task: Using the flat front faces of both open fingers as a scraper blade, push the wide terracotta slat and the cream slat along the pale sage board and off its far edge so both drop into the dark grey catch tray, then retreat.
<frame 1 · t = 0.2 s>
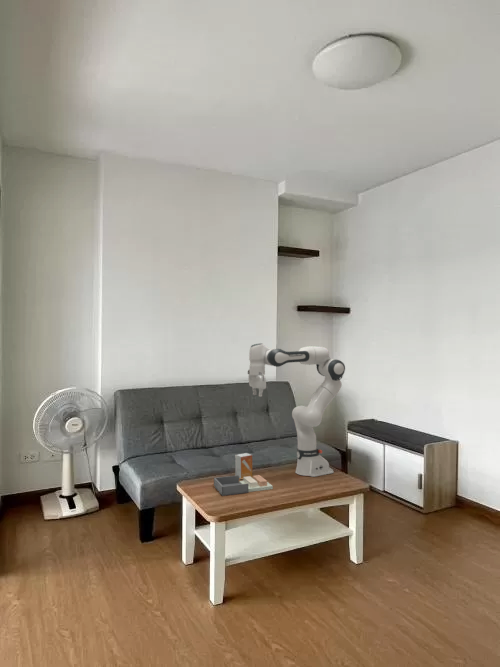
hand: (257, 395, 270), 47 cm above the table, fingers open, 8 cm apart
sage board: (255, 486, 254), on the table
cream tile: (250, 484, 253), point 2 cm above the table, touching sage board
small box: (244, 477, 271), on the table
catch tray: (230, 489, 249), on the table
terracotta tile: (259, 483, 254), point 2 cm above the table, touching sage board
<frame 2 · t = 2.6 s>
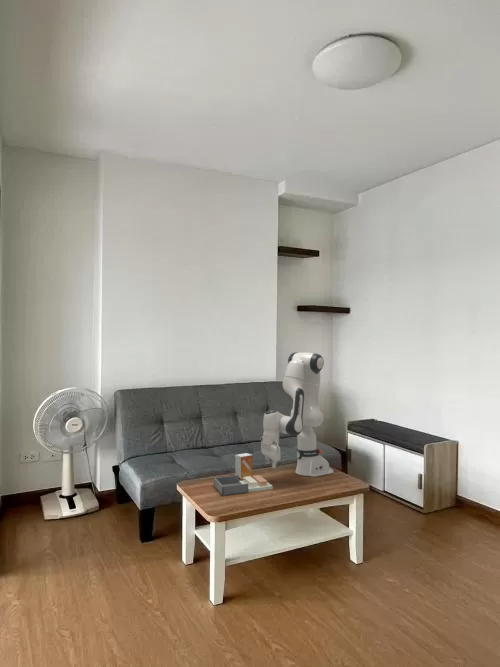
hand: (270, 465, 256), 10 cm above the table, fingers open, 8 cm apart
nothing on the table moved.
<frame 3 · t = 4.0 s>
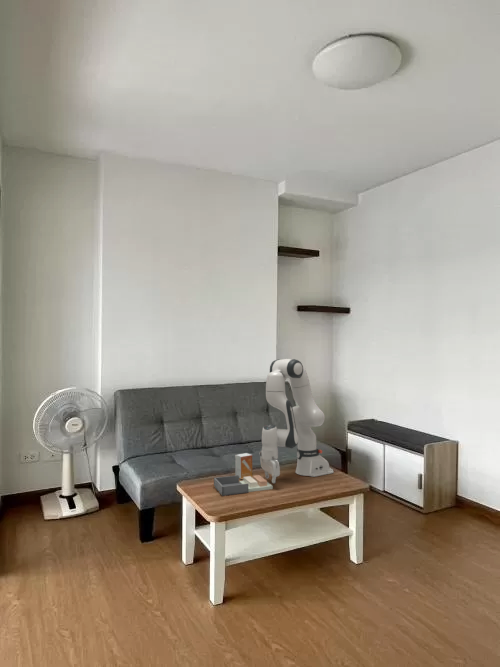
hand: (270, 480, 256), 2 cm above the table, fingers open, 8 cm apart
nothing on the table moved.
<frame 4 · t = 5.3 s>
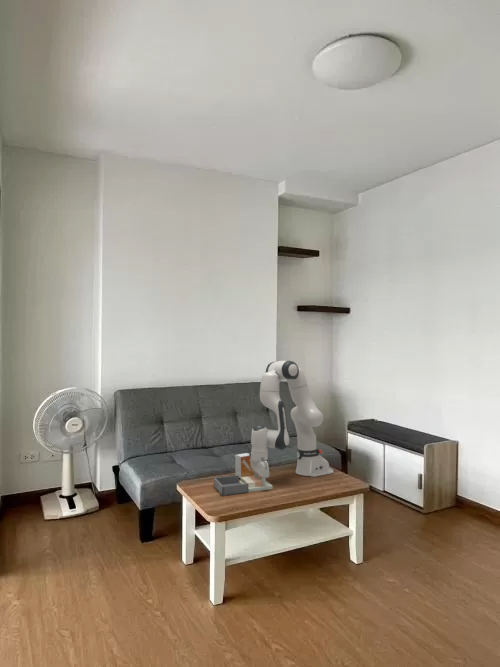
hand: (259, 481, 254), 2 cm above the table, fingers open, 8 cm apart
cream tile: (247, 484, 252), point 2 cm above the table, touching sage board, terracotta tile
terracotta tile: (254, 483, 253), point 2 cm above the table, touching cream tile, gripper, sage board
everything else where it was.
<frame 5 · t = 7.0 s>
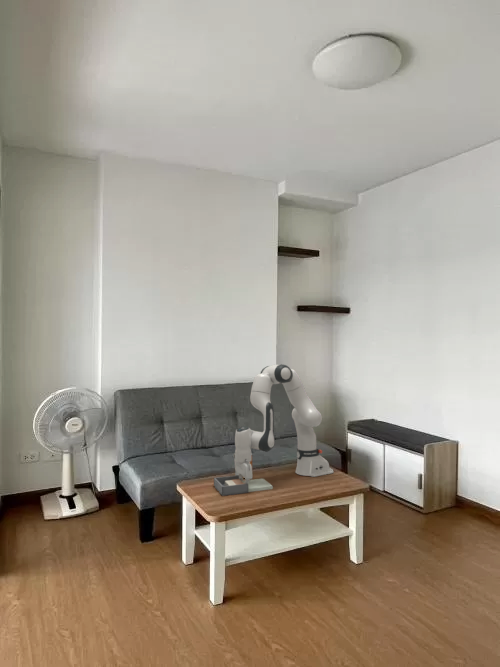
hand: (243, 483, 251), 2 cm above the table
cream tile: (231, 488, 249), point 1 cm above the table, touching catch tray, terracotta tile
terracotta tile: (238, 486, 251), point 1 cm above the table, touching cream tile, gripper
everything else where it was.
when the fingers open (2 cm above the table, at t = 8.6 s): terracotta tile stays where it is, resting on catch tray, cream tile.
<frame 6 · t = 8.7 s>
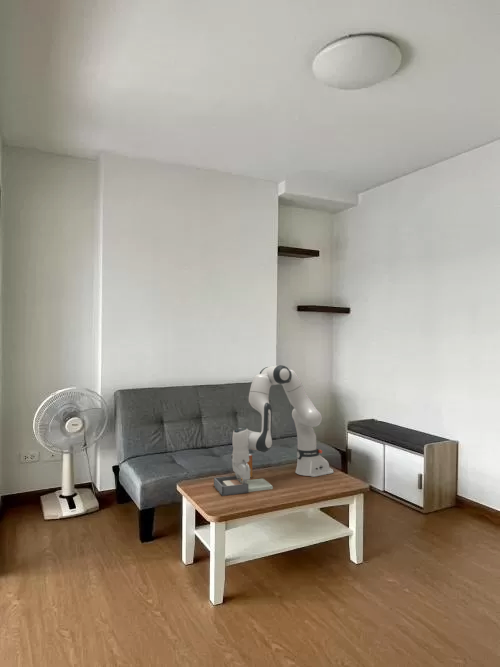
hand: (241, 484, 251), 2 cm above the table, fingers open, 8 cm apart
cream tile: (229, 488, 249), point 1 cm above the table, touching catch tray, terracotta tile
terracotta tile: (236, 487, 250), point 1 cm above the table, touching catch tray, cream tile, gripper
everything else where it was.
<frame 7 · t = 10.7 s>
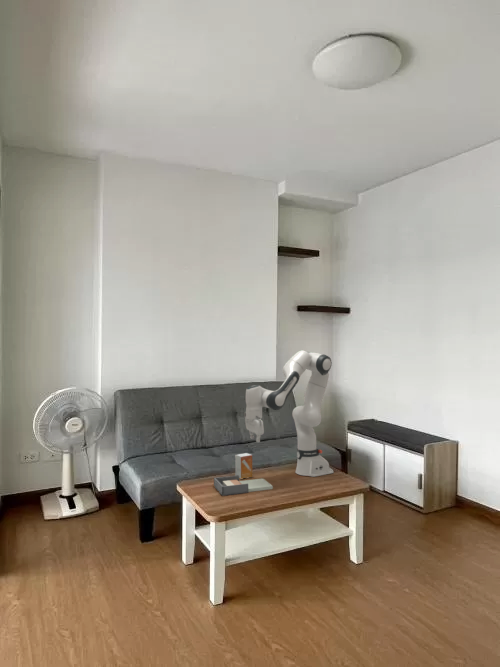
hand: (255, 440, 256), 24 cm above the table, fingers open, 8 cm apart
terracotta tile: (236, 487, 250), point 1 cm above the table, touching catch tray, cream tile
everything else where it was.
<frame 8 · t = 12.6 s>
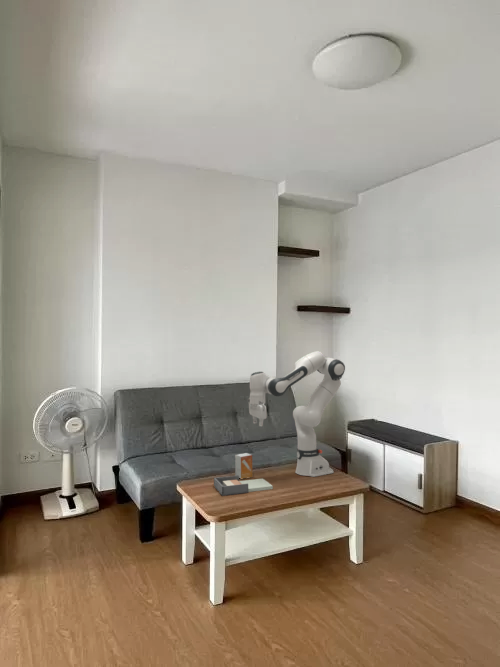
hand: (258, 425, 265), 31 cm above the table, fingers open, 8 cm apart
nothing on the table moved.
at the end: terracotta tile inside the target area (3.5 cm from its centre), point 0.6 cm above the table; cream tile inside the target area (0.5 cm from its centre), point 0.6 cm above the table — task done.
